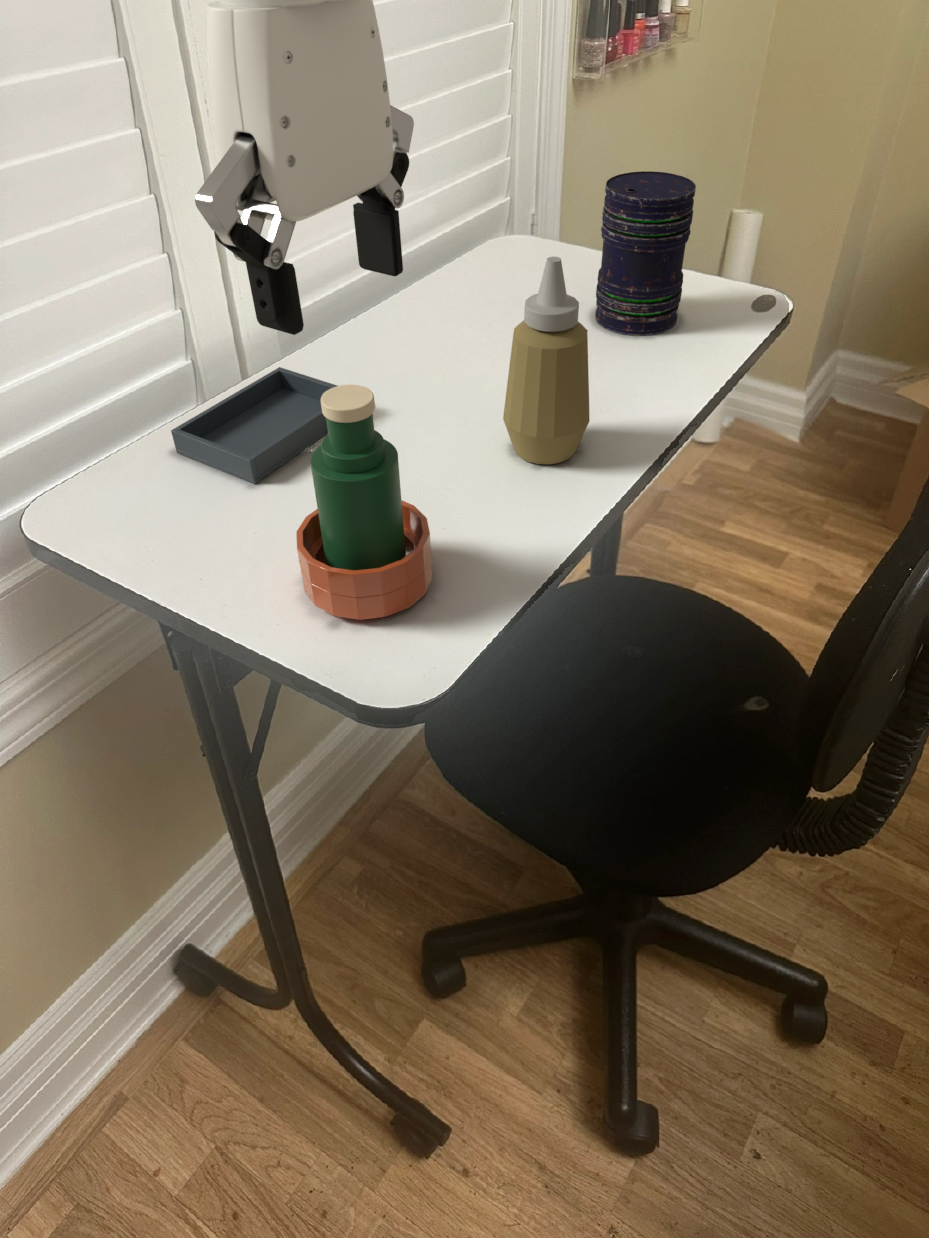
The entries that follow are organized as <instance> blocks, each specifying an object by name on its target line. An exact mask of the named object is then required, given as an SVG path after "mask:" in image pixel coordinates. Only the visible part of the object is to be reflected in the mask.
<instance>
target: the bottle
mask: <svg viewBox="0 0 929 1238" xmlns="http://www.w3.org/2000/svg"><path fill="white" fill-rule="evenodd" d="M321 407H322V413H323V415H324V416H325V417H326V422H327V429H328V434H327V435H326V436H324V437H323V438H322V441H321V444H320V445H319V446H318V447H317V448H315V449H314V450H313V452H312V453H311V456H310V460H309V461H310V470H311V474H312V481H313V488H314V494H315V495H314V496H315V499H316V500H315V501H316V507H317V508H316V509H318V515H319V521H320V528H321V534H322V541H323V547H324V553H325V560H326V565H328V566H330V567H334V568H341V569H348V570H364V569H373V568H380V567H383V566H386V565H388V564H391V563H394V562H396V561H399V560H402V559H403V558H404V557H405V556H406V551H405V539H404V526H403V513H402V501H403V500H402V489H401V488H402V487H401V478H400V477H401V474H400V465H399V464H400V463H399V452H398V450H397V448H396V446H395V445H394V444H393V443H392V442H390V441H389V440H386V439H384V437H383V435H382V434H381V433H380V432H378V430H376V429H375V424H374V421H375V420H374V412H375V410H376V403H375V394H374V392H373V391H372V390H371V389H370V388H369V387H366V386H364V385H359V384H342V385H341V384H340V385H337V387H333V388H331V389H329V390H327V391H326V392H324V393H323V395H322V396H321Z"/></svg>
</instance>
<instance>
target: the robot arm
mask: <svg viewBox="0 0 929 1238" xmlns="http://www.w3.org/2000/svg"><path fill="white" fill-rule="evenodd" d="M206 9H207V10H206V53H207V54H206V55H207V56H206V58H207V72H208V83H209V84H208V85H209V93H210V105H211V112H212V120H213V127H214V134H215V141H216V149H217V157H218V161H219V162H218V164H217V165H216V166H215V167H214V169H213V170H212V172H211V173H210V175H208V177H207V178H206V180H205V181H204V182H203V184H202V186H201V187H199V189H198V191H197V192H196V194H195V197H194V204H195V206H196V208H197V210H198V212H199V213H200V214H201V216H202V217H203V219H204V220H205V221H206V224H207V225H208V226H209V228H210V229H211V230H212V231H213V232H214V237H215V240H216V241H217V242H218V243H219V244H220V245H222V246H223V247H224V248H226V249H227V250H229V251H230V252H231V253H233V257H234V258H235V259H236V260H238V261H240V262H245V266H246V271H247V276H248V282H249V287H250V292H251V296H252V302H253V307H254V312H255V318H256V321H257V323H258V324H259V325H260V326H262V327H266V328H269V329H272V330H276V331H278V332H282V333H285V334H290V335H293V336H295V335H298V334H299V333H301V332H303V330H304V327H305V326H304V325H305V324H304V319H303V318H304V317H303V312H302V306H301V299H300V293H299V292H300V291H299V287H298V286H299V285H298V280H297V274H296V269H295V267H294V264H293V263H290V262H286V261H285V259H286V256H287V253H288V251H289V246H290V243H291V240H292V237H293V233H294V230H295V227H296V224H297V222H301V221H304V220H307V219H309V218H311V217H314V216H316V215H318V214H320V213H322V212H325V211H327V210H329V209H332V208H333V207H336V206H338V205H339V204H343V203H344V202H346V201H348V200H350V199H352V198H355V197H357V198H358V200H360V201H361V202H356V203H354V204H352V209H353V221H354V222H353V223H354V230H355V231H354V232H355V240H356V248H357V259H358V265H359V267H360V268H361V269H363V270H366V271H370V272H374V273H379V274H383V275H385V276H391V277H397V276H399V275H401V274H403V272H404V264H403V252H402V251H403V250H402V238H401V225H400V212H399V210H397V209H400V208H401V207H402V206H403V204H404V202H405V201H404V200H405V192H404V189H403V188H402V187H403V184H404V181H405V179H406V176H407V173H408V171H409V167H410V157H409V156H408V154H407V153H410V148H411V143H412V137H413V132H414V127H415V126H414V125H415V122H414V118H413V116H412V115H409V114H408V113H406V112H405V111H402V110H401V109H399V108H397V107H395V106H393V105H391V101H390V92H389V84H388V78H387V69H386V64H385V59H384V58H385V56H384V52H383V46H382V39H381V34H380V28H379V24H378V19H377V15H376V9H375V4H374V1H373V0H217V1H216V0H215V1H212V2H209V3H207V5H206ZM274 202H276V203H274ZM239 211H241V212H242V215H241V214H240V213H239ZM266 220H267V221H271V225H270V228H269V230H268V235H267V237H266V238H265V237H263V235H262V232H263V228H264V224H265V222H266Z"/></svg>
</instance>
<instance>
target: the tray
mask: <svg viewBox="0 0 929 1238" xmlns="http://www.w3.org/2000/svg"><path fill="white" fill-rule="evenodd" d="M337 386H338V385H337V384H333V383H331V382H329V381H325V380H321V379H319V378H315V377H312V376H309V375H305V374H303V373H299V372H297V371H293V370H291V369H287V368H283V367H281V366H279V367H277V368H275V369H273V370H272V371H270V372H269V373H266V374H265V375H263V376H262V377H260V378H258V379H256V380H255V381H253V382H251V383H250V384H248V385H246V386H245V387H243V388H241V389H239V390H238V391H236V392H234V393H233V394H231V395H229V396H227V397H226V398H224V399H222V400H220V401H219V402H217V403H215V404H214V405H212V406H210V407H208V408H206V409H204V410H203V411H202V412H200V413H198V414H197V415H194V416H193V417H191V418H190V419H188V420H186V421H185V422H183V423H181V424H179V425H178V426H176V427H174V428H172V429H171V430H170V433H171V436H172V440H173V444H174V447H175V448H174V449H175V452H176V454H179V455H181V456H183V457H186V458H188V459H191V460H193V461H196V462H197V463H201V464H203V465H206V466H208V467H211V468H213V469H216V470H217V471H221V472H223V473H226V474H228V475H231V476H234V477H235V478H238V479H240V480H244V481H246V482H248V483H251V484H254V485H255V484H257V483H259V482H260V481H261V480H263V479H265V478H267V476H270V475H271V474H272V473H273V472H275V471H276V470H278V469H279V468H281V467H282V466H283V465H285V464H286V463H288V462H289V461H291V460H292V459H294V458H295V457H297V456H298V455H299V454H301V453H303V452H304V451H305V450H307V449H309V448H310V447H311V446H313V445H314V444H316V443H317V442H319V441H320V440H322V439H324V438H325V437H326V436H327V435H328V429H327V422H326V417H325V416H324V415H323V413H322V407H321V396H322V395H323V393H324V392H326V391H327V390H329V389H331V388H333V387H337Z"/></svg>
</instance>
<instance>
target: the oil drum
mask: <svg viewBox="0 0 929 1238" xmlns="http://www.w3.org/2000/svg"><path fill="white" fill-rule="evenodd" d="M604 188H605V189H604V190H605V191H604V192H605V193H604V194H605V196H604V201H603V203H604V204H603V208H602V212H601V213H602V216H601V221H602V225H601V228H600V231H601V238H602V251H601V252H602V253H601V262H600V263H601V264H600V268H599V269H598V273H597V284H596V290H595V291H596V292H595V298H596V301H595V302H596V303H595V306H596V309H595V313H594V319H595V322H596V323H597V324H598V325H599V326H600V327H602V328H603V329H605V330H607V331H610V332H611V333H616V334H619V335H624V336H634V337H642V336H643V337H645V336H646V337H647V336H655V335H661V334H664V333H666V332H668V331H670V330H671V329H673V328H674V327H675V326H676V324H677V322H678V321H677V320H678V310H679V308H680V303H681V300H682V293H683V283H684V272H683V264H684V258H685V257H684V256H685V249H686V244H687V243H688V241H689V239H690V236H691V227H692V223H693V216H694V204H695V203H694V202H695V199H694V197H695V196H696V190H697V185H696V183H695V182H694V181H693V180H692V179H690V178H688V177H685V176H683V175H680V174H676V173H672V172H671V173H670V172H664V171H651V170H649V171H648V170H645V171H644V170H643V171H631V172H624V173H619V174H616V175H613V176H611V177H610V178H608V179H607V180H606V182H605V187H604Z"/></svg>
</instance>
